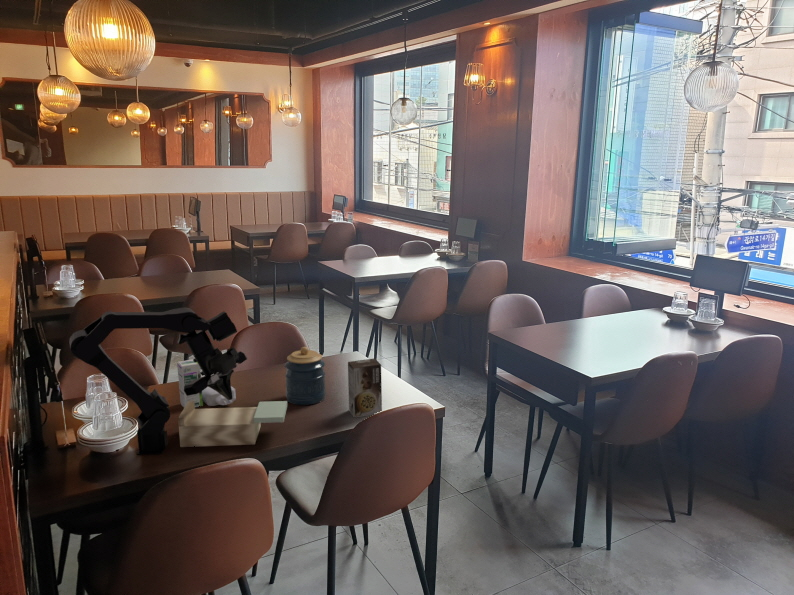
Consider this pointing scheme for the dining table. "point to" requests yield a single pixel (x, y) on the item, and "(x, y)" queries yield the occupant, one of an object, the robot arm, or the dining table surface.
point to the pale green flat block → (270, 412)
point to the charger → (216, 397)
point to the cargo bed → (217, 426)
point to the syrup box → (186, 375)
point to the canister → (305, 377)
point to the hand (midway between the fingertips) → (230, 399)
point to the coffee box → (364, 387)
